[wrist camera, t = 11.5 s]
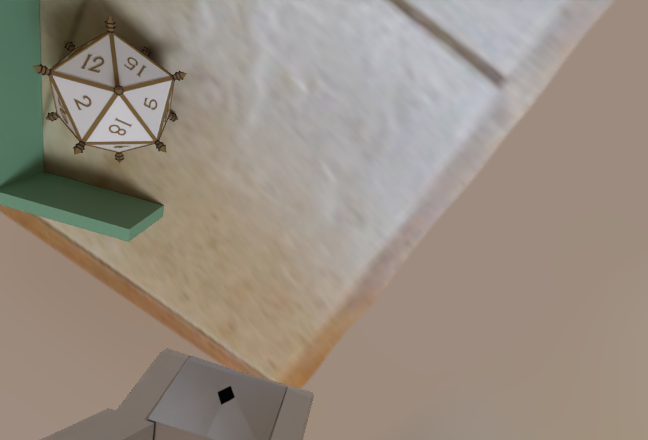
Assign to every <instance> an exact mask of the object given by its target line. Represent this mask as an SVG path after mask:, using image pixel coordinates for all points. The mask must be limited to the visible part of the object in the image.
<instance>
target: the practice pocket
mask: <svg viewBox="0 0 648 440" xmlns="http://www.w3.org/2000/svg"><path fill="white" fill-rule="evenodd" d="M40 64H41V43H40V4H39V0H0V205H3V206H7V207H10V208H13V209H17V210H20V211H24V212H27V213H31V214H34V215H38V216H41V217H45V218H48V219H52V220H55V221H59V222H62V223H66V224H69V225H73V226H76V227H79V228H83V229H86V230H90V231H93V232H97V233H100V234H104V235H107V236H111V237H114V238H118V239H121V240H125V241H128V242H129V241H130V240H132V239H133V238H134V237H136V236H137V235H138V234H140V233H141V232H143V231H144V230H145V229H147V228H148V227H149V226H151V225H152V224H153V223H155V222H156V221H157V220H159V219H160V218H161V217H163V208H164V205H161V204H157V203H153V202H150V201H146V200H143V199H139V198H136V197H132V196H128V195H125V194H121V193H118V192H114V191H111V190H107V189H104V188H100V187H96V186H93V185H89V184H86V183H82V182H79V181H75V180H72V179H68V178H64V177H61V176H57V175H54V174H50V173H47V172H44V162H43V122H42V83H41V74H38V72H37V71H36V70H35V69H34V68H33V66H36V65H40Z"/></svg>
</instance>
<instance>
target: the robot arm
mask: <svg viewBox="0 0 648 440" xmlns="http://www.w3.org/2000/svg"><path fill="white" fill-rule="evenodd" d="M313 397H314V395H313V392H310V391H306V390H303V389H299V388H296V387H292V386H288V385H285V384H282V383H278V382H275V381H272V380H268V379H265V378H261V377H258V376H254V375H251V374H248V373H244V372H241V371H240V372H239V371H236V370H233V369H230V368H227V367H224V366H221V365H218V364H215V363H212V362H209V361H206V360H203V359H200V358H197V357H194V356H189V355H186V354H183V353H180V352H177V351H174V350H171V349H168V348H167V349H165V350H164V351H162V352H161V353H160V354H159V355H158V356H157V358H156V359H155V360H154V362H153V363H152V364H151V366H150V367H149V369H148V370H147V371H146V372H145V374H144V375H143V376H142V378H141V379H140V380H139V381H138V383H137V384H136V385H135V387H134V388H133V389H132V390H131V392H130V393H129V395H128V396H127V397H126V399H125V400H124V401H123V402H122V404H121V405H120V406H119V408H118V409H117V410H113V409H109V408H108V409H106V410H104V411H102V412H99V413H97V414H95V415H93V416H91V417H88V418H86V419H84V420H82V421H80V422H78V423H76V424H73V425H72V426H69V427H67V428H65V429H63V430H60V431H58V432H56V433H54V434H52V435H50V436H47V437H45V438H43V439H41V440H303V436H304V433H305V429H306V425H307V421H308V417H309V413H310V409H311V405H312V401H313Z"/></svg>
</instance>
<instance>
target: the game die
mask: <svg viewBox="0 0 648 440" xmlns="http://www.w3.org/2000/svg"><path fill="white" fill-rule="evenodd" d="M105 23H106V27H107V29H108V31H107V32H106V33H104V34H102V35H100V36H98V37H96V38H94V39H93V40H91V41H89V42H87V43H85V44H83V45H81V46H79V47H78V48H76V49H75V45H73V43H72V42H67V41H65V48H67V50H69V51H70V53H69V54H68V55H67V56H65V57H64V58H63V59H62V60H61V61H60V62H58V63H57V64H56V65H55V66H54V67H52V68H51V69H48V68H47V67H46V66H42V65H41V64H40V65H36V66H33V68H34V69H35V70H36V71H37V72H38V74H42V75H48V76H49V79H50V84H51V89H52V94H53V99H54V103H55V108H56V113H54V112H51V113H48V116H47V117H46V119H48V120H51V121H53V120H56V119H57V118H60V119H61V120H62V121H63V123H64V124H65V125H66V126H67V127H68V128H69V130H70V131H71V132H72V133H73V134H74V136H75V137H76V138H77V139H78V140H79V141H80V142H79V143H78V144H76V146H75V147H73V148H74V153H75V154H78V153H83V150H84V146H85V145H88V146H92V147H96V148H100V149H105V150H109V151H113V152H116V155H115V157H116V158H115V159H116V160H117V161H118V162H119V163H120V162H121V161H122V160H123V159H124V158H123V156H124V155H123V154H122V152H125V151H129V150H132V149H136V148H140V147H144V146H148V145H152V144H155V145H156V148H158V149H159V150H158V151H163V152H166V145H164V144H163V143H162V142H160V141H159V139H160V137H161V134H162V132H163V130H164V127H165V125H166V122H167V120H168V119H170V120H172V121H173V122H174V121H175V120H178V118H177V116H176V114H173V113H171V114H170V108H171V101H172V94H173V88H174V81H175V80H179V81H180V79H182V80H183V78H184V77H185V75H186V74H187V73H184V72H180V71H179V72H176V73H175V74H174V75H172V74H171V73H169V72H168V71H167V70H165V69H164V68H163V67H161V66H160V65H158V64H157V63H156V62H154V61H153V60H152V59H150V58H149V57H148V55H150V53H151V51H150V47H144V49H143V50H142V52H141V51H140V50H138V49H137V48H135V47H134V46H133V45H131V44H130V43H129V42H127V41H126V40H124V39H123V38H122V37H120V36H119V35H118V34H116V33H115V32H114V28H115V22H114V21H113V20H112V18H111V17H110V16H109V18H108V19H107V21H105Z"/></svg>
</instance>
